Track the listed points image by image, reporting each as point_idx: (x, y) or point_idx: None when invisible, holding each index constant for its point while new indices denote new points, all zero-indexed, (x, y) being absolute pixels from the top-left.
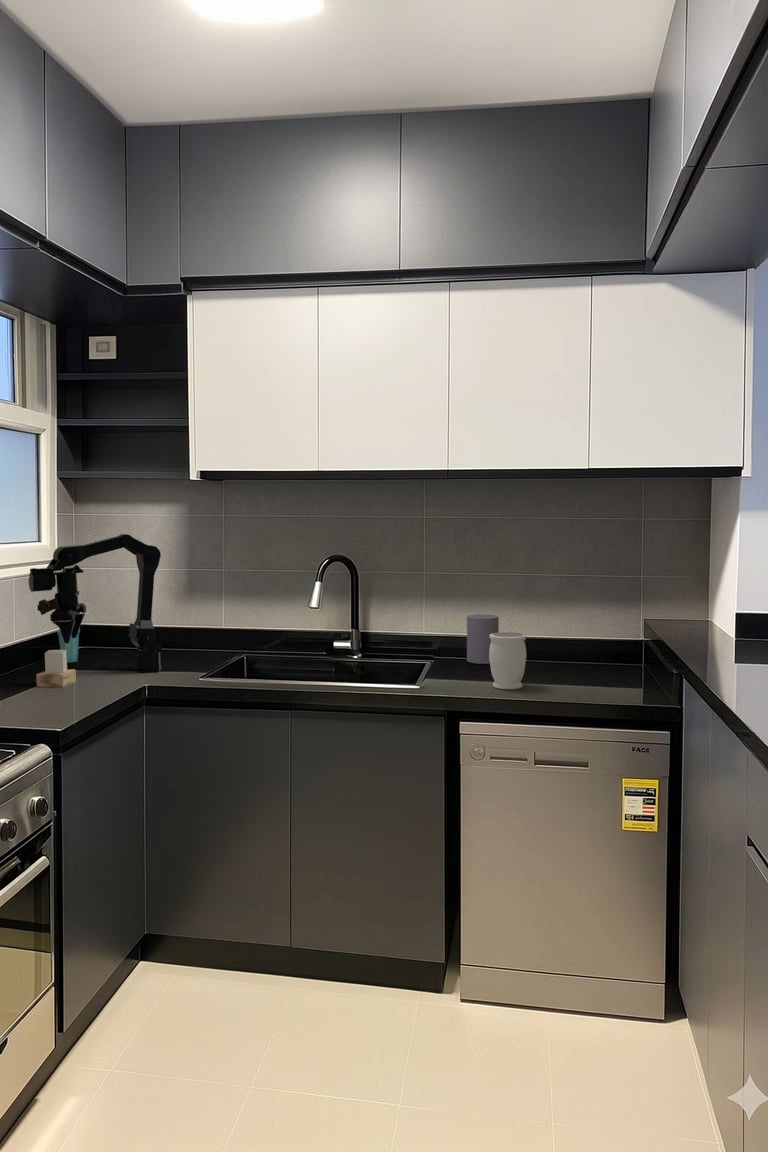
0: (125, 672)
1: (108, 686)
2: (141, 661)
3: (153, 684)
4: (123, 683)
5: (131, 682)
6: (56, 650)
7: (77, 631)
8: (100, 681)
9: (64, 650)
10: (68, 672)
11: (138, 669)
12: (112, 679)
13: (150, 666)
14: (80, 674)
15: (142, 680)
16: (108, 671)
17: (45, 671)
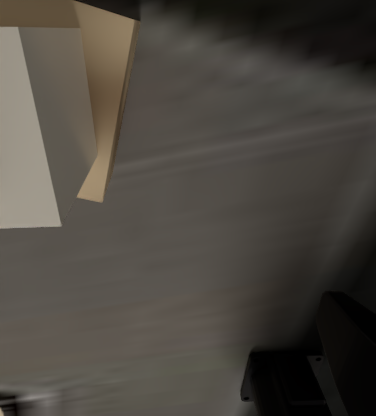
0: (276, 317)
1: (3, 311)
2: (275, 396)
3: (45, 408)
4: (62, 342)
5: (79, 359)
6: (7, 138)
7: (349, 409)
8: (105, 270)
9: (8, 221)
10: None
11: (274, 357)
12: (143, 301)
13: (253, 399)
14: (297, 158)
15: (112, 378)
16: (324, 261)
17: (29, 3)
